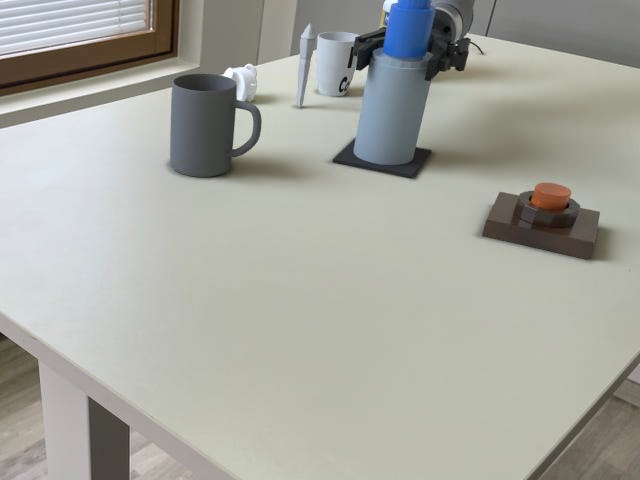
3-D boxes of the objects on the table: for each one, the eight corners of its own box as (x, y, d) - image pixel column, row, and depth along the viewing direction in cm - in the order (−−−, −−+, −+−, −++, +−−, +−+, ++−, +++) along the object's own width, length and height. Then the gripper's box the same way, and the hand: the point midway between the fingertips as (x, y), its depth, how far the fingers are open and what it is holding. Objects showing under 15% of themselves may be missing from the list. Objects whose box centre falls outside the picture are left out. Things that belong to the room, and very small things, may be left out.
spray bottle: (422, 152, 111) (465, -30, 96) (399, 169, 105) (442, -22, 90) (368, 139, 115) (401, -37, 100) (343, 155, 109) (375, -30, 95)
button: (567, 202, 89) (573, 186, 88) (564, 214, 86) (570, 198, 85) (532, 195, 91) (538, 180, 89) (528, 207, 88) (533, 191, 86)
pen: (299, 104, 132) (310, 21, 123) (309, 107, 130) (321, 24, 122) (289, 106, 131) (299, 22, 122) (299, 110, 129) (310, 25, 121)
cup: (345, 101, 133) (355, 43, 128) (304, 94, 137) (311, 37, 131) (359, 90, 139) (368, 35, 133) (319, 84, 142) (326, 29, 136)
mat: (431, 153, 112) (432, 150, 112) (412, 178, 104) (413, 175, 104) (356, 139, 117) (357, 135, 117) (332, 162, 109) (332, 159, 108)
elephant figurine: (238, 91, 137) (240, 58, 134) (267, 102, 132) (271, 68, 129) (211, 97, 134) (213, 64, 130) (240, 108, 129) (243, 74, 125)
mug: (157, 169, 105) (159, 84, 98) (189, 150, 112) (192, 69, 104) (241, 190, 100) (249, 101, 93) (269, 169, 106) (278, 85, 99)
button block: (593, 227, 92) (605, 198, 89) (587, 259, 85) (600, 228, 82) (494, 206, 96) (503, 178, 94) (481, 235, 89) (490, 205, 87)
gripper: (496, 68, 113) (468, 106, 97) (361, 49, 121) (315, 81, 105) (511, 16, 108) (484, 46, 92) (369, 0, 117) (322, 26, 101)
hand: (394, 65), depth 99 cm, fingers closed on spray bottle, 9 cm apart
